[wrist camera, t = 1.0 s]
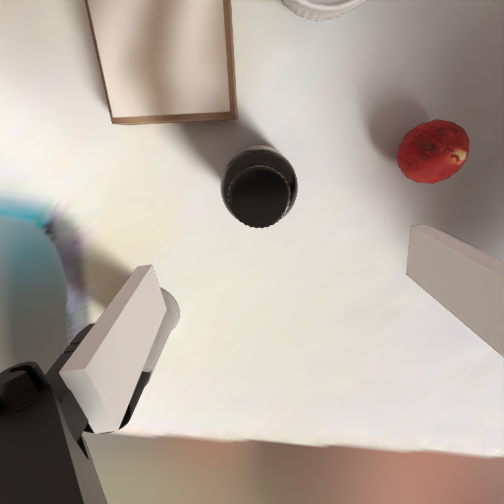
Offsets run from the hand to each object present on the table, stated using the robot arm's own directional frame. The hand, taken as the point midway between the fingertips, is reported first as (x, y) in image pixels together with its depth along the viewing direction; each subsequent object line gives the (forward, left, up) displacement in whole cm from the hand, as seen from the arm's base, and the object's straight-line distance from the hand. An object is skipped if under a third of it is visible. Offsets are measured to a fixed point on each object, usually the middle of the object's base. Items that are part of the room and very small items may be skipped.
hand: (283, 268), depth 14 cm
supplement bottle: (+1, -2, -20) cm, 20 cm away
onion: (-16, -4, -20) cm, 26 cm away
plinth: (+9, -14, -20) cm, 26 cm away
